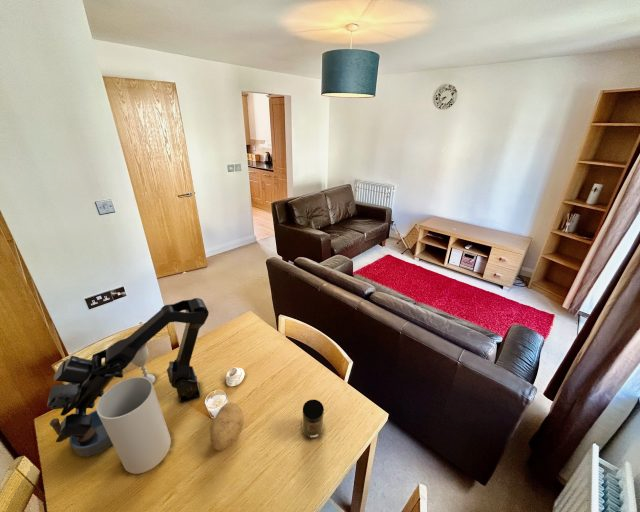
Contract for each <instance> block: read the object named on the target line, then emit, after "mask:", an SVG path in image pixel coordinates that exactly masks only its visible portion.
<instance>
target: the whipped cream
mask: <svg viewBox="0 0 640 512" xmlns="http://www.w3.org/2000/svg"><path fill="white" fill-rule="evenodd" d="M245 375H246V374H245V371H244V369H243V368H241V367H236V366H233V367H231V368H230V369H229V371H228V372H227V373H226V375H225V384H226V385H227V386H228V387H236V386H239V385H240V384H241V383H242V382H243V380H244V379H245Z"/></svg>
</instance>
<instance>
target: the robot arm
mask: <svg viewBox="0 0 640 512" xmlns="http://www.w3.org/2000/svg"><path fill="white" fill-rule="evenodd" d="M209 313H210V312H209V310H208V307H207V305H206V304H205V301H204V300H203V299H202V298H200V297H194V298H191V299H184V300H180V301H177V302H174V303H172V304H171V303H170V304H165V305H163V306H162V307H161V308H160V310H159V311H157V312H156V313H154V315H153V316H151V317H150V318H149V319H148V320H147V321H146V322H144V323H143V324H142V325H141V326H140V327H138V329H136V330H135V331H134V332H133V333H131V334H130V335H129V336H127V337H125V338H122V339H119V340H118V341H116V342H114V343H112V344H111V345H110V346H108V347H107V348H105V349H102V350H101V351H98V352H96V353H93V354H92V355H91V359H87V358H82V357H79V356H77V355H76V356H75V355H71V356H70V357H69V358H66V359H65V360H63V361H62V363H61V364H59V366H58V368H57V370H56V371H55V373H54V376H53V381H55V382H61V383H68V384H57V385H53V386H52V387H51V388H50V391H49V395H48V399H47V403H46V406H47V408H51V410H60V409H62V410H61V412H60V416H62V417H64V416H65V417H64V418H63V420H62V421H61V422H60V424H61V427H60V432H61V433H60V434H59V435H57V436H58V437H57V438H56V440H55V442H56V443H61V442H64V441H65V440H67V439H69V437H71V436H73V435H74V434H82V435H84V434H86V433H87V432H88V431H89V430H90V428H91V421H92V417H91V415H88V414H87V409H93V408H94V407H95V405H96V403H95V402H96V400H98V398H101V397H102V395H103V394H104V393H105V392H104V391H105V389H106V388H107V387H108V385H109V384H110V383H111V382H112V380H113V379H114V378H118V379H123V378H124V369H126V368H127V367H128V366H129V365H130V363H132V362H131V361H132V360H133V359H134V357H135V355H136V353H137V352H138V350H139V349H140V348H141V347H142V346H143V345H144V344H146V343H147V344H148V342H149V341H150V340H151V339H153V338H154V337H155V336H157V334H159V332H161V331H162V330H163V329H164V328H166V326H168V325H169V324H170V323H181V324H182V323H183V324H185V326H184V329H183V333H182V337H181V341H180V345H179V349H178V351H177V352H178V353H177V356H176V359H174V360H173V361H169V362H168V367H167V369H166V372H167V377H168V383H170V384H171V388H173V389H176V393H177V397H178V399H180V400H179V401H180V403H181V404H184V403H186V402H190V401H193V400H195V399H198V398H201V388H200V382H199V380H198V376H197V375H196V373H195V370H194V367H193V365H191V361H192V357H193V354H194V349H195V345H196V343H197V339H198V335H199V331H200V329H201V328H202V327H203V326H204V325H205V323H206V321H207V319H208V317H209ZM147 344H146V345H147ZM103 359H104V364H102V362H103ZM74 409H75V411H74V413H70V412H72V411H73V410H74ZM69 413H70V414H69Z"/></svg>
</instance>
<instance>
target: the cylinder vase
mask: <svg viewBox="0 0 640 512" xmlns="http://www.w3.org/2000/svg"><path fill="white" fill-rule="evenodd" d="M95 410H97V413H98V415H99V417H100V419H101V421H102V423H103V425H104V427H105V429H106V431H107V433H108V435H109V437H110V440H111V442H112V445H113V447H114V450H115V451H116V454H117V456H118V458H119V460H120V462H121V464H122V466H123V468H124V470H125V471H126V472H128V473H130V474H135V475H139V474H143V473H146V472H150V471H151V470H152V469H153V468H155V467H156V466H158V465H159V464H160V463H161V462H162V461H163V460H164V459H165V457H166V456H167V455H168V453H169V452H170V451H169V450H170V448H171V443H172V438H171V435H170V431H169V429H168V425H167V423H166V421H165V420H166V419H165V417H164V414H163V411H162V408H161V405H160V401H159V399H158V396H157V393H156V390H155V387H154V384H153V383H152V382H151V380H149V379H148V378H146V377H143V376H133V377H129V378H125V379H123V380H120V381H119V382H117V383H115V384H113V385H112V386H111V387H109V388H108V389H107V390H105V392H104V394H103V395H102V397H99V399H98V401H97V404H96V409H95Z"/></svg>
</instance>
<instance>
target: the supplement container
mask: <svg viewBox="0 0 640 512" xmlns="http://www.w3.org/2000/svg"><path fill="white" fill-rule="evenodd" d="M324 411H325V408H324V404H323V403H322V402H321V401H320V400H318V399H309V400H307V401H305V402H304V404H303V406H302V432H303V434H304V435H305V437H306V438H307V439H311V440H314V439H315V440H316V439H318V438H319V437H320V436H321V435H322V433H323V428H324V414H325V412H324Z"/></svg>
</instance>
